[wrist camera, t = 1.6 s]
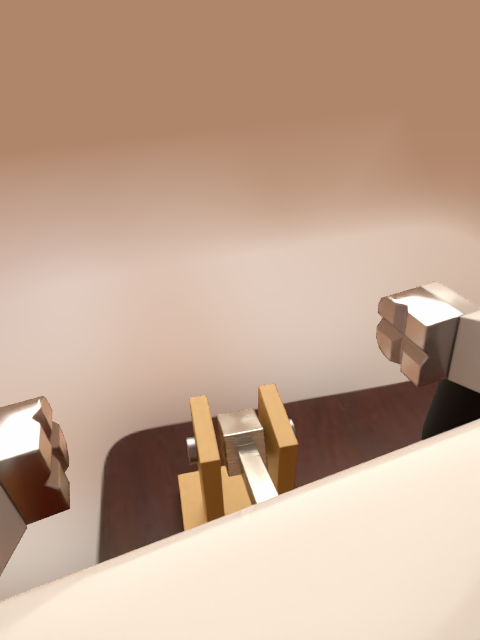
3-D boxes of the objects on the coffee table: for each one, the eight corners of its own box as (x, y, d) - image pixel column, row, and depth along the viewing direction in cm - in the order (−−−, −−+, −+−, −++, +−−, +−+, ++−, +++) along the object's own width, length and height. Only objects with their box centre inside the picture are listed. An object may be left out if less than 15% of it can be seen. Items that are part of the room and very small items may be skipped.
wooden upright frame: (322, 586, 28) (344, 478, 21) (195, 618, 27) (173, 514, 20) (281, 465, 35) (288, 353, 28) (179, 486, 34) (159, 374, 27)
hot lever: (362, 644, 14) (357, 559, 14) (265, 670, 14) (255, 583, 13) (265, 449, 27) (260, 400, 26) (213, 459, 26) (206, 409, 26)
